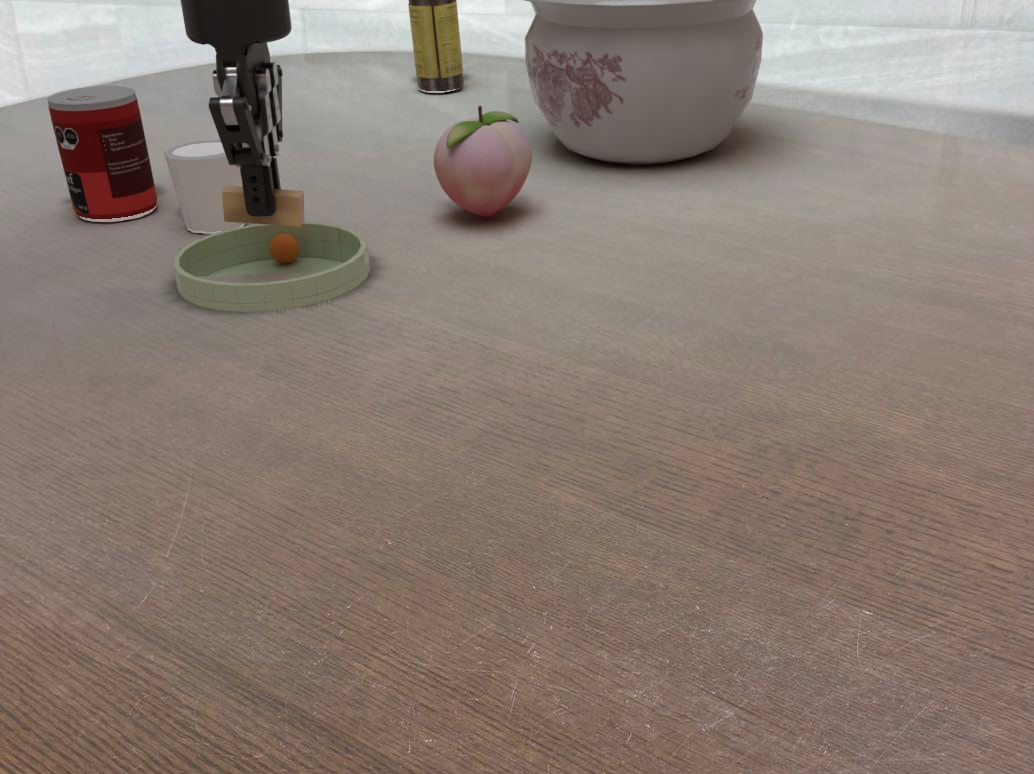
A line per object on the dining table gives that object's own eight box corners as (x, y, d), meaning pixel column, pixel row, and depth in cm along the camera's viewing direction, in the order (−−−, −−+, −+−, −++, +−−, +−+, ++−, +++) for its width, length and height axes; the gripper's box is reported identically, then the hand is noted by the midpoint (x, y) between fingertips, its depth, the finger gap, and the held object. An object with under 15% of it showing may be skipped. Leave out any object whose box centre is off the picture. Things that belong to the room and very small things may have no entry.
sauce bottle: (464, 83, 162) (454, -82, 151) (463, 94, 157) (452, -77, 146) (417, 85, 162) (403, -80, 151) (414, 96, 157) (399, -75, 146)
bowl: (158, 331, 90) (148, 287, 88) (208, 264, 103) (200, 224, 101) (356, 327, 90) (351, 282, 88) (382, 259, 103) (378, 219, 101)
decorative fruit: (473, 198, 117) (466, 91, 111) (546, 208, 113) (543, 98, 108) (418, 226, 110) (408, 113, 105) (494, 238, 106) (487, 121, 101)
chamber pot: (744, 192, 115) (757, -47, 104) (478, 176, 123) (464, -47, 112) (789, 123, 138) (804, -80, 127) (561, 113, 146) (557, -78, 135)
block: (223, 221, 94) (221, 190, 92) (228, 215, 95) (226, 185, 94) (300, 227, 94) (299, 196, 92) (304, 221, 95) (303, 190, 94)
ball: (293, 240, 102) (273, 260, 102) (278, 223, 100) (258, 244, 100) (309, 253, 101) (289, 274, 101) (295, 236, 99) (275, 257, 99)
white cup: (265, 226, 112) (253, 149, 108) (194, 241, 108) (179, 163, 105) (237, 209, 116) (224, 135, 113) (168, 223, 113) (153, 147, 110)
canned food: (83, 203, 120) (56, 87, 114) (165, 197, 121) (142, 83, 115) (66, 226, 113) (36, 106, 108) (152, 221, 114) (127, 100, 108)
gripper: (202, -44, 91) (238, 187, 100) (148, -20, 79) (194, 239, 88) (301, -46, 90) (328, 185, 100) (261, -22, 79) (295, 237, 88)
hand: (265, 210), depth 94 cm, fingers closed on block, 1 cm apart
